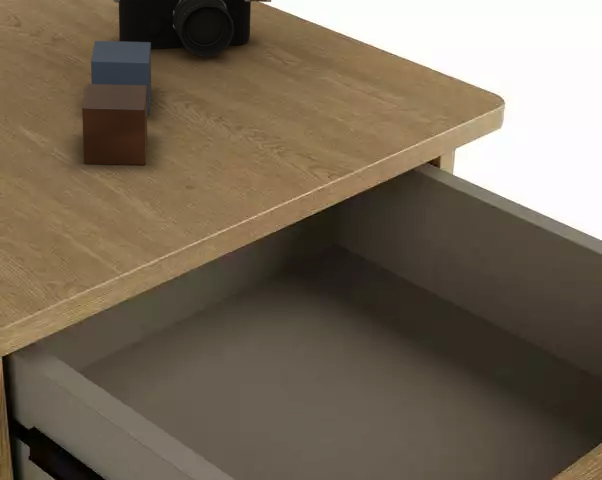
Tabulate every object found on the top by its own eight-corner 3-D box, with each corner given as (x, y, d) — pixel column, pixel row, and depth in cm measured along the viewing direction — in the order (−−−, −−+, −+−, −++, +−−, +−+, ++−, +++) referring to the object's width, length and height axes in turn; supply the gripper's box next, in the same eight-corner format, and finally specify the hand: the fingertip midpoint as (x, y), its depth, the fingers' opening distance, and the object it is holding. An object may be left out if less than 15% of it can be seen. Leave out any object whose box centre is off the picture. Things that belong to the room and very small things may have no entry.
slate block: (92, 114, 115) (90, 61, 112) (96, 92, 119) (94, 40, 116) (149, 115, 115) (149, 62, 113) (151, 93, 119) (150, 42, 117)
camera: (120, 65, 125) (119, -16, 121) (111, 38, 131) (109, -40, 127) (265, 59, 128) (268, -21, 124) (250, 33, 134) (252, -44, 130)
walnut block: (84, 164, 106) (81, 107, 104) (88, 138, 110) (86, 83, 108) (145, 165, 107) (144, 109, 104) (147, 139, 111) (147, 84, 108)
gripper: (147, -141, 116) (149, 8, 124) (373, -134, 118) (362, 13, 125) (149, -157, 122) (152, -14, 129) (366, -150, 123) (356, -9, 131)
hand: (257, 0), depth 127 cm, fingers closed
